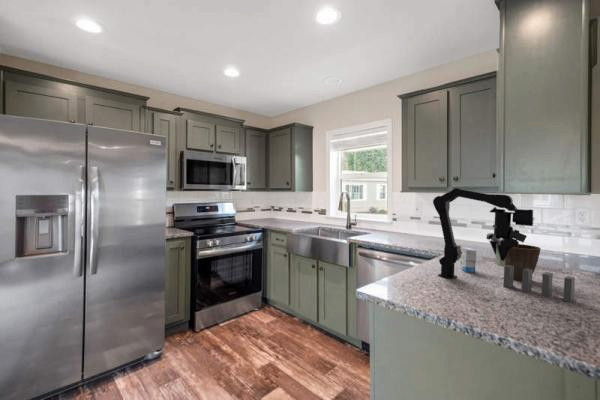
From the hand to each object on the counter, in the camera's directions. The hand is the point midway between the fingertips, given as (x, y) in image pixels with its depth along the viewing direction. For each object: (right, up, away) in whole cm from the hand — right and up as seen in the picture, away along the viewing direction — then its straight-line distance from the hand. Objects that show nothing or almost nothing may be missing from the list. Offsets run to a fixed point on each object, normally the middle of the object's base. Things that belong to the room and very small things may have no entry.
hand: (500, 259), depth 123 cm
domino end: (+16, -13, -15) cm, 25 cm away
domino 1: (+4, -12, +1) cm, 13 cm away
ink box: (+2, -12, +27) cm, 29 cm away
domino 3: (+12, -13, -10) cm, 20 cm away
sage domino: (0, -3, 0) cm, 2 cm away
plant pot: (+18, -12, +13) cm, 25 cm away
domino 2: (+8, -12, -4) cm, 15 cm away
